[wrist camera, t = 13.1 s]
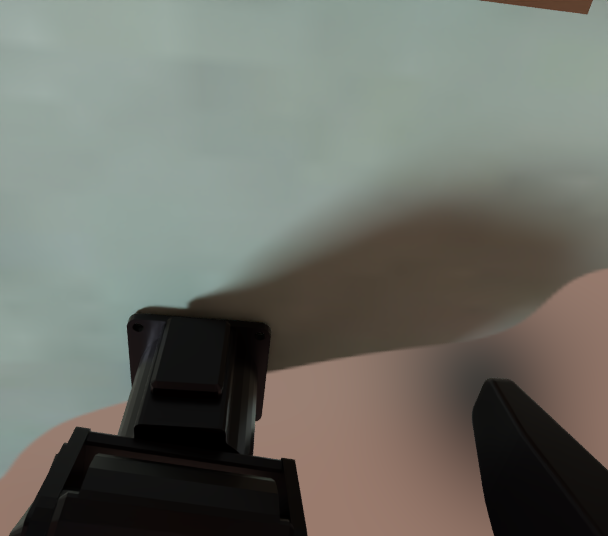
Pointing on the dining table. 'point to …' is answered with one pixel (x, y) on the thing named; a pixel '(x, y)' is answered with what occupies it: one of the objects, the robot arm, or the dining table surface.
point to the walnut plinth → (552, 4)
